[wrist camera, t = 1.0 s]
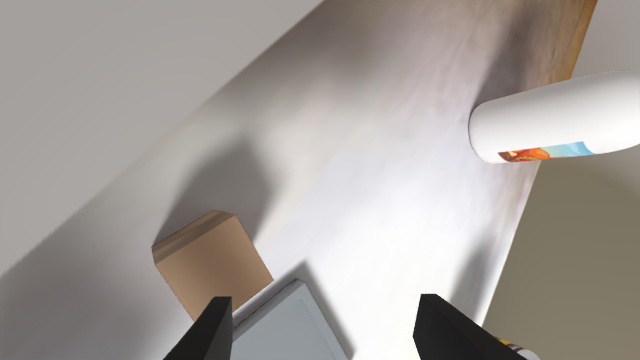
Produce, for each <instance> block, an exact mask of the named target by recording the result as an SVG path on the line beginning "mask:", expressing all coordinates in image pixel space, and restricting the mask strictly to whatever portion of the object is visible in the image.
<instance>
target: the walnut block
mask: <svg viewBox="0 0 640 360" xmlns="http://www.w3.org/2000/svg"><path fill="white" fill-rule="evenodd" d="M152 253H153V258H154V263H155V266H156V267H157V269H158V270H159V272H160V273H161V274H162V276H163V277H164V279H165V280H166V282H167V283H168V285H169V286H170V288H171V289H172V291H173V292H174V293H175V295H176V296H177V298H178V299H179V301H180V302H181V304H182V305H183V307H184V308H185V309H186V311H187V312H188V314H189V315H190V317H191V318H192V320H193V321H194V322H195V321H196V320H197V319H198V317H199V316H200V315H201V313H202V312H203V311H204V309H205V308H206V306H207V305H208V303H209V302H210V301H211V299H212V298H213V297H215V296H232V313H233V312H234V311H235V310H237V309H238V308H239V307H240V306H242V305H243V304H244V303H246V302H247V301H248V300H249V299H251V298H252V297H253V296H255V295H256V294H257V293H258V292H260V291H261V290H262V289H263V288H265V287H266V286H267V285H269V284H270V283H271V282H272V281H274V279H273V278H272V276H271V274H270V273H269V271H268V269H267V268H266V266H265V264H264V262H263V261H262V259H261V257H260V256H259V254H258V252H257V251H256V249H255V247H254V246H253V244H252V242H251V240H250V239H249V237H248V235H247V234H246V232H245V230H244V229H243V227H242V225H241V224H240V222H239V220H238V218H237V217H236V215H234V214H229V213H225V212H220V211H215V210H213V211H211V212H209V213H208V214H206V215H204V216H203V217H201V218H199V219H198V220H196V221H194V222H193V223H191V224H189V225H187V226H186V227H184V228H182V229H181V230H179V231H177V232H176V233H174V234H172V235H171V236H169V237H167V238H166V239H164V240H162V241H161V242H159V243H157V244H155V245H154V246H152Z"/></svg>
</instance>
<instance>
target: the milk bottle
mask: <svg viewBox="0 0 640 360" xmlns="http://www.w3.org/2000/svg"><path fill="white" fill-rule="evenodd" d="M469 136H470V141H471V145H472V147H473V150H474V152H475V153H476V155H477V156H478V157H479V158H480V159H481V160H482V161H485V162H487V163H491V164H492V163H508V162H519V161H531V160H542V159H553V158H563V157H574V156H584V155H592V154H600V153H607V152H613V151H618V150H621V149H626V148H629V147H632V146H635V145H637V144H640V71H632V70H631V71H630V70H620V71H619V70H617V71H607V72H601V73H595V74H591V75H587V76H582V77H578V78H574V79H569V80H566V81H562V82H558V83H554V84H550V85H546V86H543V87H539V88H535V89H531V90H527V91H524V92H520V93H516V94H513V95H509V96H505V97H501V98H498V99H494V100H491V101H487V102H484V103H482V104H480V105H479V106H478V107H477V108H475V110H474V111H473V113H472V115H471V118H470V122H469Z"/></svg>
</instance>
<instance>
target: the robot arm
mask: <svg viewBox="0 0 640 360" xmlns="http://www.w3.org/2000/svg"><path fill="white" fill-rule="evenodd" d="M413 339H414V342H415V345H416V348H417V351H418V353H419V356H420V359H421V360H528V359H526V358H525V357H523V356H521V355H520V354H518V353H517V352H515V351H514V350H512V349H511V348H509V347H508V346H506V345H505V344H504V343H502V342H501V341H499V340H498V339H496V338H495V337H494V336H492V335H491V334H489V333H488V332H487V331H485V330H484V329H482V328H481V327H480V326H478V325H477V324H476V323H474V322H473V321H472V320H470V319H469V318H468V317H467V316H465V315H464V314H463V313H461V312H460V311H459V310H457V309H456V308H455V307H453V306H452V305H451V304H449V303H448V302H447V301H445V300H444V299H443V298H441V297H440V296H438V295H437V294H421V297H420V302H419V307H418V312H417V317H416V322H415V327H414V332H413ZM232 342H233V337H232V296H215V297H213V298H212V299H211V301H210V302H209V303H208V305H207V306H206V308H205V309H204V311H203V312H202V313H201V315H200V316H199V317H198V319H197V320H196V321H195V322H194V324H193V325H192V326H191V327H190V329H189V330H188V331H187V332H186V334H185V335H184V336H183V337H182V338H181V340H180V341H179V342H178V343H177V344H176V346H175V347H174V348H173V349H172V350H171V351H170V352H169V353H168V354H167V355H166V357H165V358H164V359H163V360H230V356H231V349H232Z"/></svg>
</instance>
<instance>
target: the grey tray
mask: <svg viewBox="0 0 640 360" xmlns="http://www.w3.org/2000/svg"><path fill="white" fill-rule="evenodd" d="M232 337H233V342H232V349H231V356H230V360H348V358H347V356H346V355H345V353H344V351H343V349H342V348H341V346H340V344H339V342H338V341H337V339H336V337H335V335H334V334H333V332H332V330H331V328H330V326H329V325H328V323H327V321H326V319H325V318H324V316H323V314H322V312H321V311H320V309H319V307H318V305H317V304H316V302H315V300H314V298H313V296H312V295H311V293H310V291H309V289H308V288H307V286H306V284H305V283H304V282H302V281H300V280H299V279H297V278H296V279H295V280H294V281H292V282H291V283H290V284H289V285H287V286H286V287H285V288H284V289H283V290H281V291H280V292H279V293H278V294H276V295H275V296H274V297H273V298H271V299H270V300H269V301H268V302H267V303H265V304H264V305H263V306H262V307H260V308H259V309H258V310H257V311H255V312H254V313H253V314H252V315H251V316H249V317H248V318H247V319H246V320H244V321H243V322H242V323H241V324H239V325H238V326H237V327H236V328H235V329H233V330H232Z"/></svg>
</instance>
